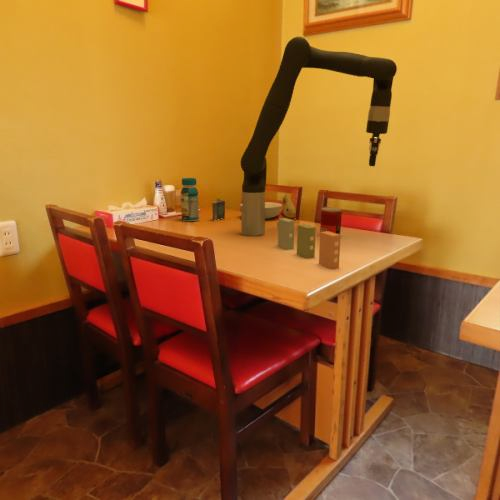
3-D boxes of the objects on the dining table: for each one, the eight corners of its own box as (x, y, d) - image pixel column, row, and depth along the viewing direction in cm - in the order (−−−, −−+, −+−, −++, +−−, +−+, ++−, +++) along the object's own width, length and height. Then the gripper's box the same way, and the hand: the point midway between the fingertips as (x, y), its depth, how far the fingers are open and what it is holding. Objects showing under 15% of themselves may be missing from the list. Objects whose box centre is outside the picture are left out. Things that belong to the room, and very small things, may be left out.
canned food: (340, 238, 161) (341, 210, 158) (319, 237, 163) (320, 209, 160) (340, 234, 168) (341, 207, 166) (320, 233, 170) (321, 206, 167)
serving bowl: (289, 216, 208) (289, 203, 206) (268, 223, 190) (268, 208, 189) (254, 213, 218) (254, 200, 216) (231, 219, 201) (231, 205, 199)
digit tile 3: (331, 269, 122) (333, 236, 119) (318, 263, 127) (320, 232, 125) (339, 267, 123) (341, 235, 121) (326, 262, 129) (328, 231, 126)
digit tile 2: (307, 258, 133) (308, 228, 130) (296, 254, 138) (297, 224, 136) (314, 257, 134) (316, 227, 132) (304, 253, 140) (305, 224, 137)
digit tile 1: (286, 249, 144) (287, 221, 141) (277, 246, 149) (278, 218, 146) (294, 248, 145) (295, 221, 142) (284, 245, 150) (285, 218, 148)
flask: (215, 221, 195) (215, 198, 192) (210, 220, 196) (210, 198, 194) (226, 218, 203) (225, 196, 200) (221, 218, 204) (220, 196, 202)
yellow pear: (289, 231, 173) (290, 196, 169) (274, 227, 182) (275, 193, 178) (302, 230, 176) (303, 195, 172) (287, 225, 185) (288, 192, 181)
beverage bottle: (198, 222, 193) (196, 179, 188) (180, 222, 193) (178, 179, 188) (200, 218, 201) (199, 177, 196) (183, 218, 201) (181, 177, 196)
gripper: (367, 118, 157) (361, 161, 163) (367, 119, 144) (361, 166, 150) (388, 120, 156) (381, 163, 161) (389, 120, 143) (382, 167, 148)
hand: (371, 164), depth 155 cm, fingers open, 8 cm apart
